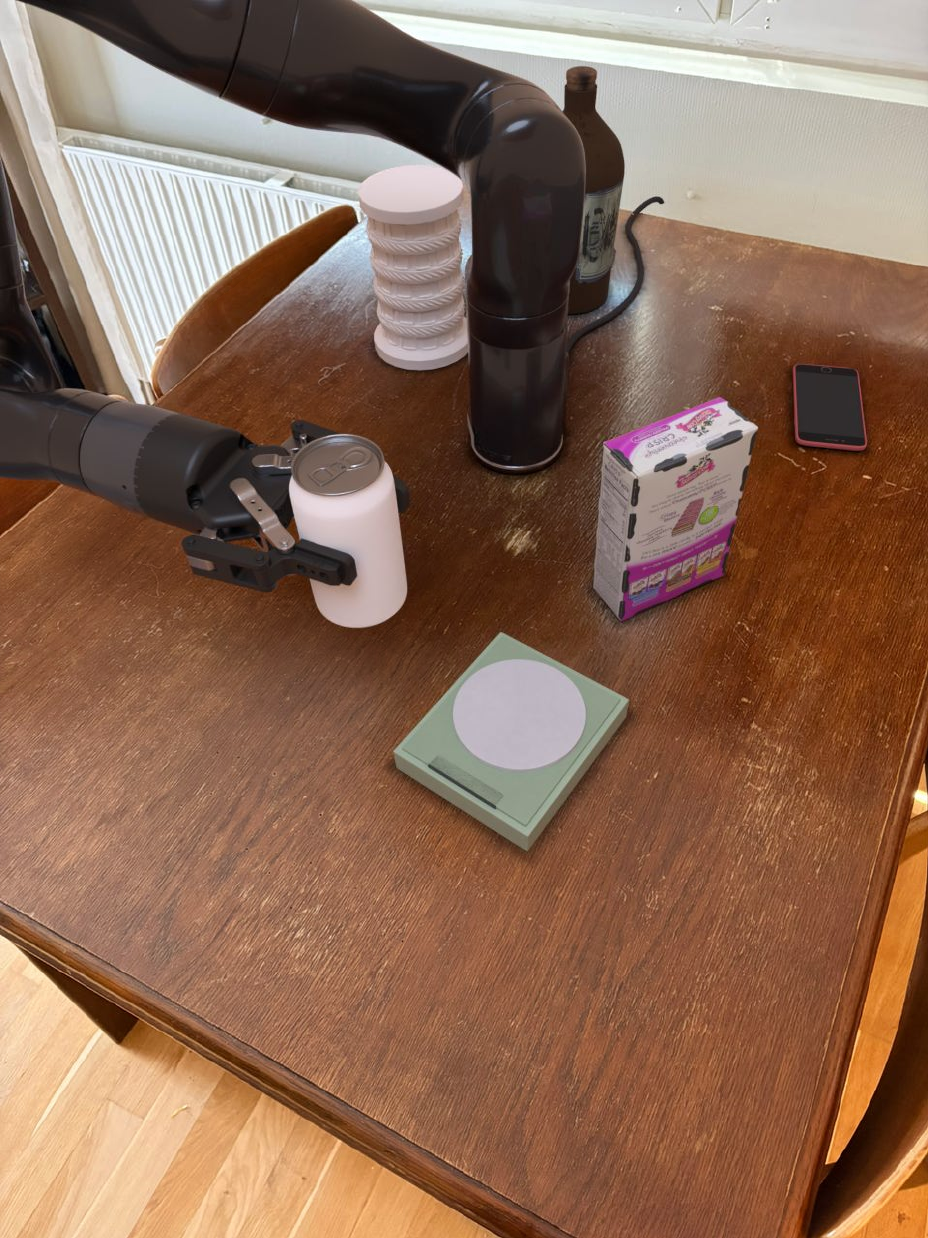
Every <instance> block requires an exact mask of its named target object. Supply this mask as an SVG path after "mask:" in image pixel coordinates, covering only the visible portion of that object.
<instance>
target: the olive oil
mask: <svg viewBox="0 0 928 1238" xmlns="http://www.w3.org/2000/svg"><path fill="white" fill-rule="evenodd" d="M597 77H598V71H597V70H596V68H594V67H591V66H589V65H588V66H586V65H578V66H577V65H576V66H572V67H570V68H568V69H566V73H565V80H566V83H565V85H564V93H563V96H564V97H563V105H564V106H563V110H562V112H563V113H564V114H565V116H566V117H567V118H568V119H569V120H570V122H571V123H572V124H573V125H574V127H575V128H576V130H577V132H578V134H579V136H580V138H581V140H582V144H583V148H584V153H585V163H586V182H585V198H584V209H583V220H582V230H581V240H580V250H579V257H578V262H577V265H576V268H575V270H574V272H573V274H572V276H571V278H570V289H569V303H568V315H580V314H586V313H589V312H592V311H594V310H597V309H598V308H600V307H602V305H603V304H605V302H606V301H607V299H608V297H609V290H610V283H611V282H610V281H611V273H612V268H613V266H614V265H615V260H616V254H617V250H616V249H615V244H616V243H615V242H616V236H617V230H618V229H617V228H618V221H619V214H620V207H621V200H622V195H623V187H624V180H625V169H626V164H625V163H626V162H625V156H624V150H623V148H622V144H621V142H620V140H619V138H618V136H617V135H616V134H615V132H614V131H613V130H612V128H611V127H610V126H609V125H608V124H607V123H606V121H605V120H604V119H603V118H602V116H601V115H600V114H599V112H598V111H597V108H596V104H597V93H598V84H597V82H596V81H597Z"/></svg>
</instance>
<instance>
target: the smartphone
mask: <svg viewBox="0 0 928 1238" xmlns="http://www.w3.org/2000/svg"><path fill="white" fill-rule="evenodd" d="M792 391H793V392H792V394H793V419H794V420H793V425H794V440H795V442H796V443H797V444H799V445H801V446H805V447H814V448H824V449H825V448H826V449H833V450H844V451H852V452H853V451H854V452H861V451H864V450H866V448H867V446H868V437H867V430H866V422H865V421H866V420H865V415H864V414H865V413H864V406H863V405H864V404H863V396H862V389H861V381H860V373H859V371H858V370H857V369H855V368H852V367H844V366H835V365H833V366H832V365H821V364H810V363H809V364H808V363H797V364H795V365H794V366H793V367H792Z"/></svg>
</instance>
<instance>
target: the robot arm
mask: <svg viewBox="0 0 928 1238" xmlns="http://www.w3.org/2000/svg"><path fill="white" fill-rule="evenodd" d="M15 1H16V2H18V3H19V2H20V3H22V4H26V5H29V6H31V7H34V8H37V9H40V10H43V11H44V12H48V13H50V14H53V15H54V16H58V17H60V18H62V19H64V20H67V21H69V22H71V23H73V24H75V25H78V26H80V27H81V28H83V29H85V30H86V31H89V32H90V33H92V34H94V35H96V36H98V37H99V38H101V39H102V40H104V41H106V42H108V43H110V44H112V45H113V46H115V47H117V48H119V49H120V50H122V51H124V52H126V53H127V54H129V55H131V56H133V57H135V58H137V59H138V60H140V61H142V62H143V63H145V64H148V65H150V66H151V67H153V68H155V69H157V70H159V71H161V72H162V73H165V74H167V75H169V76H171V77H172V78H175V79H177V80H179V81H181V82H183V83H185V84H187V85H189V86H191V87H193V88H196V89H198V90H199V91H202V92H203V93H206V94H208V95H210V96H212V97H214V98H218V99H220V100H222V101H225V102H227V103H230V104H232V105H234V106H237V107H239V108H242V109H244V110H246V111H248V112H252V113H253V114H256V115H258V116H262V117H263V118H267V119H270V120H273V121H276V122H279V123H282V124H285V125H289V126H293V127H297V128H302V129H308V130H315V131H323V132H332V133H333V132H334V133H343V134H355V135H364V136H370V137H374V138H379V139H382V140H385V141H388V142H390V143H394V144H396V145H398V146H400V147H402V148H405V149H407V150H409V151H411V152H412V153H413V152H414V153H415V154H417V155H420V156H421V157H423V158H425V159H426V160H429V161H431V162H433V163H434V164H436V165H438V166H439V167H440V168H443V169H446V170H448V171H450V172H451V173H453V174H454V175H456V176H457V177H458V178H459V179H460V180H461V181H462V183H463V185H464V187H465V188H466V190H467V192H468V193H469V198H470V216H471V219H470V220H471V254H470V255H469V256H468V258H467V261H466V263H465V266H464V291H465V292H464V293H465V313H466V314H465V315H466V317H465V318H467V337H468V352H467V355H468V356H467V357H468V358H467V360H468V379H469V380H468V381H469V382H468V383H469V401H470V402H469V404H470V406H469V407H470V416H469V414H468V413H467V415H466V416H467V417H466V418H467V428H468V430H469V431H468V432H469V434H470V448H471V453H472V454H473V457H474V458H475V459H476V460H477V461H478V462H479V464H481V465H483V466H484V467H485V468H488V469H489V470H492V471H494V472H498V473H501V474H502V473H503V474H507V475H508V474H509V475H524V474H530V473H534V472H538V471H540V470H543V469H545V468H547V467H549V466H550V465H552V464H553V463H554V462H555V461H556V460H557V459H559V457H560V455H561V453H562V450H563V442H564V441H563V440H564V439H563V438H564V434H565V433H566V422H567V421H566V420H567V403H568V383H569V364H570V356H569V355H570V351H571V349H572V348H573V346H574V345H575V344H576V342H577V341H578V340H579V339H580V338H582V337H583V336H584V335H585V334H587V333H589V332H591V331H592V330H595V329H596V328H598V327H600V326H602V325H604V324H606V323H608V322H609V321H611V320H612V319H614V318H615V317H617V316H618V315H619V314H621V312H623V311H624V310H625V309H626V308H627V307H628V306H629V305H630V304H631V303H632V302H633V300H634V299H635V298H636V296H637V295H638V293H639V292H640V289H641V287H642V284H643V282H644V278H645V265H644V261H643V257H642V252H641V247H640V245H639V241H638V240H637V238H636V236H635V234H634V232H633V231H632V224H633V222H634V220H635V219H636V218H637V217H638V215H639V214H640V213H642V211H643V210H645V209H646V208H647V207H649V206H650V205H652V204H655V203H658V204H659V205H664V204H665V200H664V199H663V198H662V197H661V196H656V195H655V196H652V197H650V198H648V199H646V200H645V201H643V202H641V204H639V205H638V206H637V207H636V208H635V209H634V210H633V211H632V213H633V214H634V215H632V213H630V215H629V217H628V218H627V220H626V223H625V227H624V228H625V229H624V230H625V234H626V235H627V238H628V239H629V241H630V243H631V246H632V247H633V251H634V256H635V259H636V264H637V278H636V281H635V285H634V286H633V288H632V290H631V291H630V293H629V294H628V296H626V298H625V299H623V301H622V302H621V303H620V304H619V305H617V307H615V308H614V309H613V310H612V311H610V312H609V313H607V314H606V315H604V316H602V317H600V318H598V319H596V320H595V321H592V322H590V323H588V324H587V325H584V326H583V327H581V328H580V329H579V330H577V331H576V332H574V333H573V334H572V335H571V337H570V338H569V339H568V325H569V320H568V319H569V314H568V303H569V289H570V278H571V276H572V274H573V272H574V270H575V268H576V265H577V262H578V257H579V250H580V240H581V230H582V220H583V209H584V198H585V182H586V163H585V153H584V148H583V144H582V140H581V138H580V136H579V134H578V132H577V130H576V128H575V127H574V125H573V124H572V123H571V122H570V120H569V119H568V118H567V117H566V116H565V114H564V113H563V112H562V111H563V110H562V109H561V108H560V106H559V105H558V104H557V103H556V102H555V101H554V98H552V97H551V96H550V95H549V94H548V93H547V92H546V91H545V90H544V89H542V88H541V87H540V86H538V85H536V84H535V83H534V82H532V81H530V80H528V79H526V78H523V77H520V76H518V75H514V74H512V73H509V72H507V71H503V70H500V69H497V68H494V67H491V66H488V65H485V64H482V63H478V62H476V61H473V60H471V59H467V58H465V57H462V56H460V55H456V54H454V53H452V52H448V51H446V50H443V49H441V48H439V47H436V46H433V45H431V44H428V43H426V42H425V41H422V40H420V39H418V38H416V37H413V36H412V35H411V34H408V33H407V32H405V31H403V30H402V29H400V28H399V27H397V26H395V25H394V24H392V23H391V22H389V21H387V19H384V18H383V17H381V16H380V15H378V14H377V13H375V12H373V11H372V10H370V9H369V8H367V7H365V6H363V5H361V4H359V3H358V2H356V1H355V0H15ZM12 205H13V204H12V201H11V196H10V189H9V185H8V183H7V178H6V173H5V169H4V164H3V161H2V157H1V156H0V478H1V479H9V480H18V481H31V482H51V483H57V484H59V485H63V486H64V487H67V488H71V489H73V490H77V491H80V492H83V493H85V494H88V495H92V496H95V497H98V498H100V499H102V500H105V501H106V502H109V503H110V504H112V505H114V506H116V507H118V508H120V509H123V510H125V511H128V512H130V513H133V514H135V515H138V516H142V517H145V518H148V519H150V520H153V521H157V522H160V523H163V524H166V525H168V526H171V527H175V528H177V529H180V530H183V531H186V532H190V533H192V534H188V535H187V536H184V538H182V540H181V546H182V549H183V552H184V554H185V557H186V560H187V562H188V564H189V567H190V569H191V573H192V574H194V575H196V576H199V577H204V578H207V579H209V580H210V579H211V580H214V581H218V582H222V583H226V584H230V585H232V586H233V585H234V586H237V587H242V588H245V589H249V590H253V591H256V592H261V593H264V594H265V593H271V592H273V591H275V590H276V589H277V588H278V581H280V580H281V579H283V578H285V577H286V576H287V577H294V576H297V575H298V576H301V577H305V578H307V579H309V580H310V579H313V580H317V581H319V582H321V583H322V582H323V583H324V584H327V585H330V586H340V584H344V585H347V586H350V585H351V584H352V583H353V582H354V580H355V579H356V578H357V570H356V565H355V560H354V558H353V557H352V556H351V555H350V554H348V553H345V552H342V551H339V550H336V549H333V548H330V547H327V546H323V545H319V544H317V543H314V542H311V541H308V540H305V539H302V538H301V540H300V539H299V541H298V542H296V540H295V538H294V537H293V536H292V534H290V532H289V531H288V530H287V529H288V528H289V526H290V525H291V522H292V521H293V518H294V513H293V508H292V504H291V499H290V494H289V484H290V479H291V476H292V474H291V463H292V460H293V458H294V456H295V455H296V454H297V452H298V451H299V450H300V449H301V448H302V447H304V446H305V445H307V444H308V443H310V442H312V441H314V440H316V439H318V438H321V437H324V436H329V435H334V434H341V433H340V432H338V431H334V430H332V429H330V428H326V427H324V426H321V425H319V424H315V423H312V422H311V421H307V420H304V419H297V420H293V421H292V422H291V423H290V431H291V435H290V436H289V437H288V438H287V439H286V440H285V441H284V442H282V444H280V445H278V444H267V445H266V444H265V445H263V444H257V443H255V442H253V441H251V440H250V439H249V438H248V437H247V436H245V435H244V434H243V433H242V432H240V431H238V430H237V429H234V428H233V427H228V426H225V425H221V424H218V423H214V422H211V421H208V420H205V419H201V418H198V417H193V416H192V415H187V414H183V413H180V412H177V411H173V410H170V409H166V408H163V407H160V406H156V405H152V404H145V403H136V402H130V401H127V400H124V399H120V398H116V397H113V396H110V395H105V394H103V393H99V392H96V391H92V390H88V389H83V388H71V387H66V388H64V387H63V384H62V383H61V382H62V381H61V380H60V377H59V374H58V372H57V370H56V368H55V364H54V362H53V360H52V357H51V355H50V353H49V351H48V349H47V346H46V344H45V341H44V339H43V336H42V334H41V332H40V328H39V327H38V323H37V322H36V320H35V317H34V315H33V313H32V310H31V308H30V305H29V303H28V300H27V297H26V290H25V289H26V288H25V283H24V282H25V281H24V276H23V275H24V274H23V269H22V261H21V255H20V247H19V241H18V233H17V227H16V223H15V216H14V211H13V206H12ZM393 478H394V484H395V491H396V499H397V507H398V514H399V515H401V514H405V513H406V512H407V510H408V508H409V507H410V506H411V498H410V490H409V487H408V485H407V484H406V483H405V481H404V480H403V479H401V478H400V477H398V476H396V475H393ZM244 540H251V541H252V542H253V543H254V544H255V545H256V547H257V548H258V549H254V548H251V547H247V546H243V545H239V544H234V543H231V542H238V541H244Z"/></svg>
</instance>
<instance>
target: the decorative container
mask: <svg viewBox="0 0 928 1238" xmlns="http://www.w3.org/2000/svg"><path fill="white" fill-rule="evenodd" d="M357 190H358V191H357V193H358V194H357V195H358V196H357V197H358V203H359V208H360V209H361V211H362V213H363V214H365V215H366V216H367V220H366V226H365V232H366V236H367V238H368V241H369V242H370V244H371V249H370V253H369V262H370V265H371V268H372V271H374V277H373V283H372V284H373V291H374V293H375V296H376V298H377V300H378V301H377V303H376V304H377V305H376V315H377V318H378V319H377V320H378V322H379V323H378V324H377V326H376V328H375V330H374V333H373V341H374V348H375V351H376V353H377V355H378V357H379V358H380V359H382V360H383V361H384V362H385V363H387V364H389V365H390V366H393V367H395V368H400V369H403V370H409V371H428V370H429V371H430V370H435V369H439V368H443V367H447V366H450V365H452V364H454V363H456V362H458V361H460V360H461V359H463V358H464V357H465V356H466V355H468V337H467V317H465V313H466V302H465V300H464V296H463V290H464V287H465V276H463V275H464V273H463V270H462V269H461V265H462V262H463V255H464V252H463V251H464V250H463V248H462V243H461V242H460V235H461V232H462V227H461V226H462V219H461V215H460V212H459V208H461V206H462V205H463V201H464V183H463V182H462V181H461V180H460V179H459V178H458V177H457V176H456V175H454V174H453V173H451V172H450V171H448V170H446V169H445V168H443V167H441V166H434V165H426V164H411V165H410V164H409V165H408V164H407V165H400V166H395V167H390V168H386V169H383V170H381V171H378V172H376V173H374V174H372V175H369V176H368V177H367V178H366V179H365V180H363V181H362V182H361V183H360V185H359V187H358V189H357Z"/></svg>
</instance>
